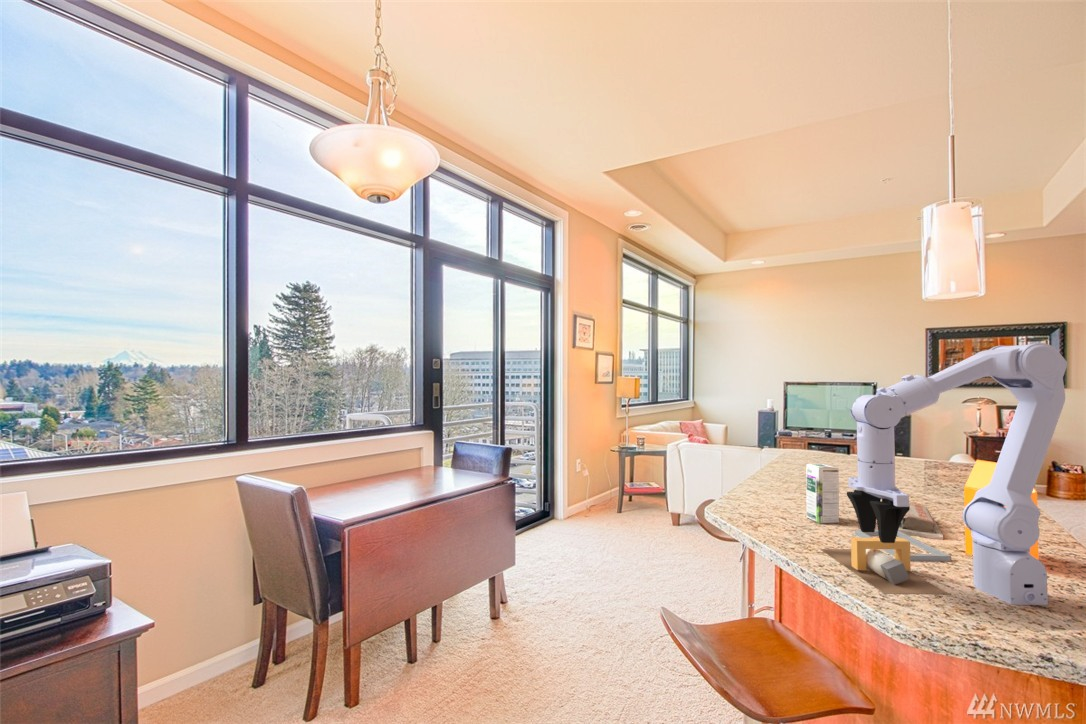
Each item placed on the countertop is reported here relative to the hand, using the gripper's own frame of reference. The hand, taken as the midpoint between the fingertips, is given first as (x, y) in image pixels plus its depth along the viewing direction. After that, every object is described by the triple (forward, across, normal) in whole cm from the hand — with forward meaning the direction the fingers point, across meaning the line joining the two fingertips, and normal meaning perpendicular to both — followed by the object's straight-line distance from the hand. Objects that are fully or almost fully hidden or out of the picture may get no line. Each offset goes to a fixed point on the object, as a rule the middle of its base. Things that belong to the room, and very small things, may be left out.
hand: (877, 536), depth 91 cm
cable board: (+9, -7, +4) cm, 12 cm away
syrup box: (+10, -43, +12) cm, 46 cm away
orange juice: (+10, -16, +35) cm, 39 cm away
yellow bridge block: (+8, -6, +4) cm, 11 cm away
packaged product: (+10, -38, +32) cm, 50 cm away
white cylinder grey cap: (+8, -6, +4) cm, 11 cm away
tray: (+9, -20, +17) cm, 28 cm away
